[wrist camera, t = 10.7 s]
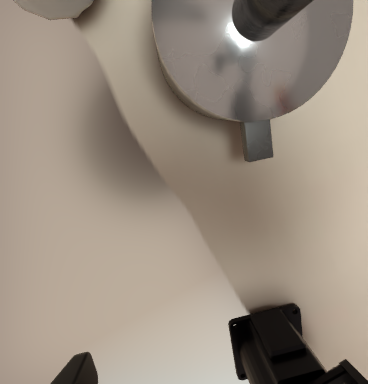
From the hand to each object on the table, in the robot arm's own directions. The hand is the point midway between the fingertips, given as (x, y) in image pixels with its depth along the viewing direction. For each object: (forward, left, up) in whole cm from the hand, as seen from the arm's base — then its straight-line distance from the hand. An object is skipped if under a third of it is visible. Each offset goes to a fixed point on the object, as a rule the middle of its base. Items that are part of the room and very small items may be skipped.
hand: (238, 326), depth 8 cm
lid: (+11, -5, -8) cm, 15 cm away
